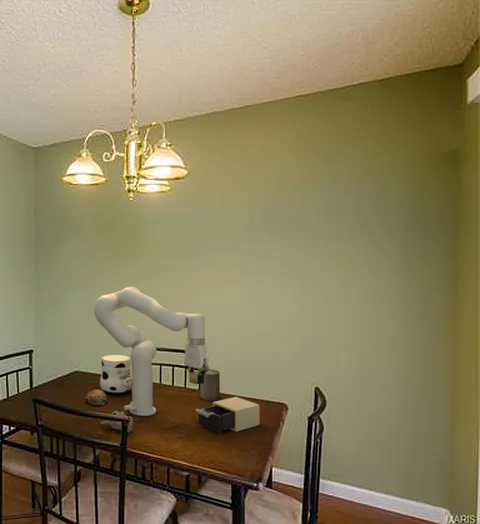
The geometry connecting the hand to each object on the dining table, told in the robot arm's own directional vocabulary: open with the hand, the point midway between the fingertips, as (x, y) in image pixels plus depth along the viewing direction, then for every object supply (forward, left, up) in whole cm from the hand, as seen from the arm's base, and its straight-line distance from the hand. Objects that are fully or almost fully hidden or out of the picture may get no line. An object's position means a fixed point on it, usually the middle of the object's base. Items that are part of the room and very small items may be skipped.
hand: (196, 381), depth 190 cm
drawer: (-1, -12, -16) cm, 20 cm away
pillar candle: (+27, +18, -17) cm, 36 cm away
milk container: (-8, +52, -17) cm, 55 cm away
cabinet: (+11, -12, -17) cm, 23 cm away
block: (0, 0, 0) cm, 0 cm away
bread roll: (-27, +42, -17) cm, 52 cm away
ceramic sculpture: (-37, +8, -17) cm, 41 cm away
